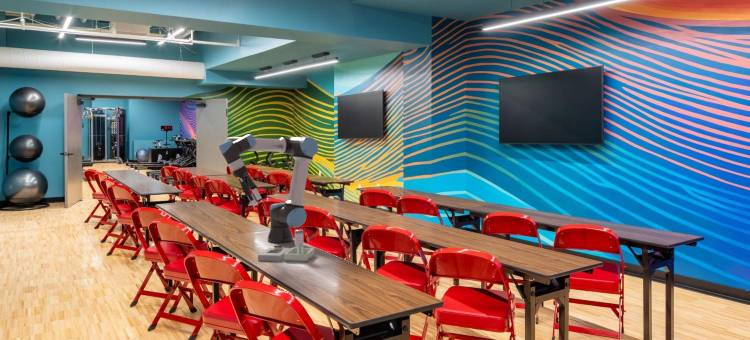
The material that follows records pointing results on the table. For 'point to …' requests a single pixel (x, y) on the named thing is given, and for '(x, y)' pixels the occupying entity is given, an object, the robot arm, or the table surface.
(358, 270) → the table surface
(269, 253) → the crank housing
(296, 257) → the parts tray
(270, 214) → the robot arm
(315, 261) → the table surface
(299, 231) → the shiny metal cylinder
